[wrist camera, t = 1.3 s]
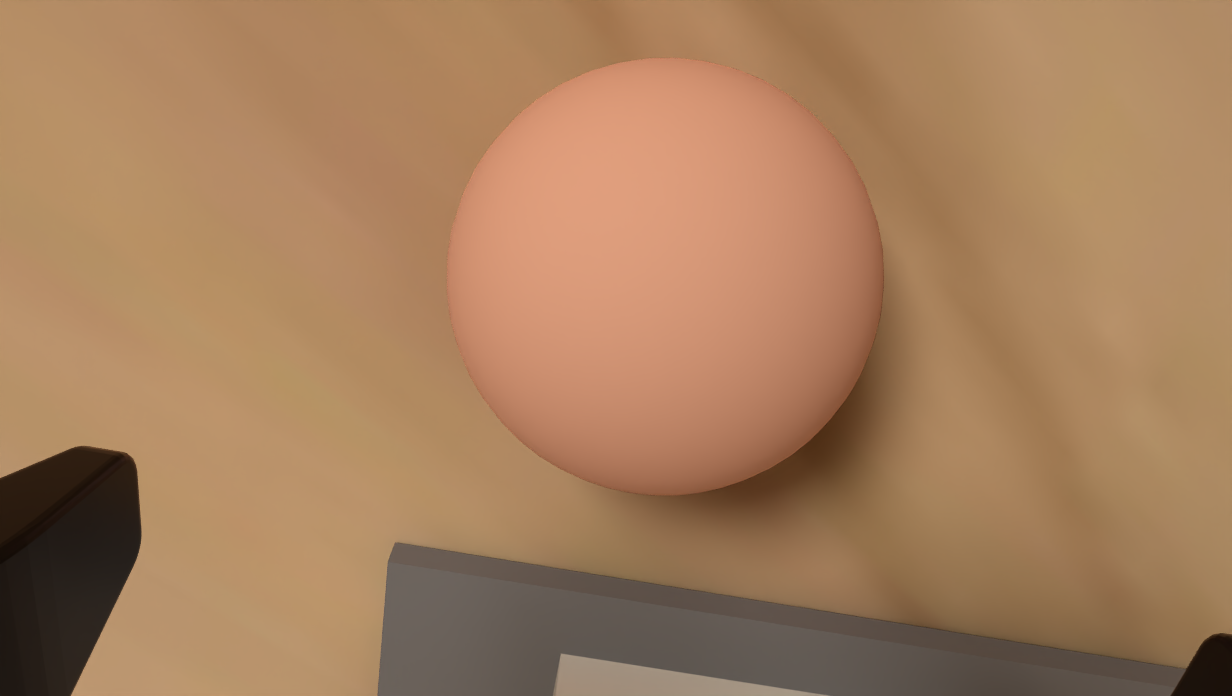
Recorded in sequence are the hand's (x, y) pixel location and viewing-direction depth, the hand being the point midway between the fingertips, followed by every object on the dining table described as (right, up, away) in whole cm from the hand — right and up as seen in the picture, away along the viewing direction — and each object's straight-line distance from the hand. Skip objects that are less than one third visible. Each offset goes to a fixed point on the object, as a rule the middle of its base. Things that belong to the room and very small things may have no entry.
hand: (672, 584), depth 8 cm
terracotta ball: (0, +3, +6) cm, 6 cm away
